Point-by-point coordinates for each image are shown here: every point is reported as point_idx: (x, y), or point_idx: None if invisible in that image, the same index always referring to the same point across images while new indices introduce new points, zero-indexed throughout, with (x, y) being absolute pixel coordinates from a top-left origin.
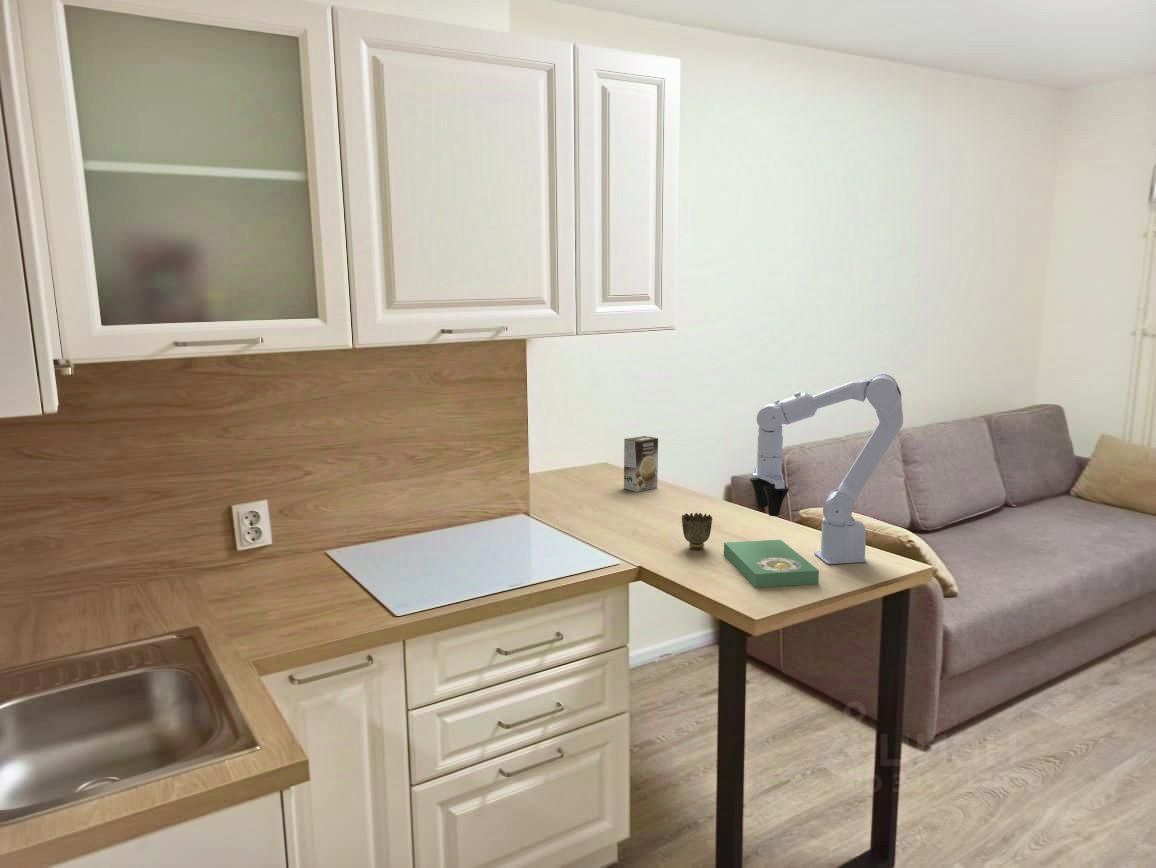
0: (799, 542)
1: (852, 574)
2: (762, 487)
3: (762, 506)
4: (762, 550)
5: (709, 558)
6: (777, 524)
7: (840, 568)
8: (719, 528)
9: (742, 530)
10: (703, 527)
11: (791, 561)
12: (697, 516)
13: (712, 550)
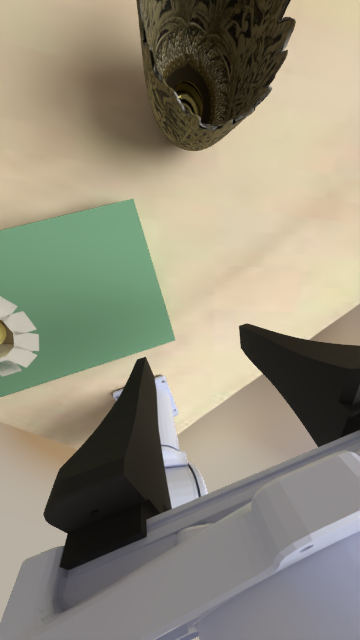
0: (219, 355)
1: (76, 417)
2: (297, 383)
3: (241, 337)
4: (85, 302)
5: (94, 154)
6: (307, 327)
7: (101, 404)
8: (316, 217)
9: (293, 267)
10: (148, 73)
11: (19, 359)
12: (275, 50)
13: (165, 175)
